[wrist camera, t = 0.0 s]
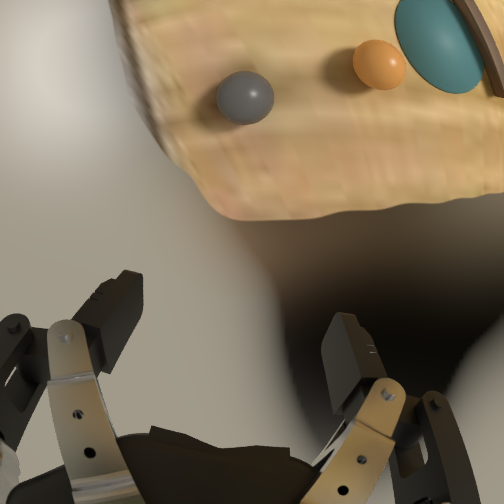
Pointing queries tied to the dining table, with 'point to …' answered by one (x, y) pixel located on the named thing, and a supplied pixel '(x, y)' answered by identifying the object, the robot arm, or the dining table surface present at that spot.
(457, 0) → the stopper rail
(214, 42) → the dining table surface
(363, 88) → the dining table surface
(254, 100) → the grey rubber ball
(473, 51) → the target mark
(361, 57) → the orange ball
